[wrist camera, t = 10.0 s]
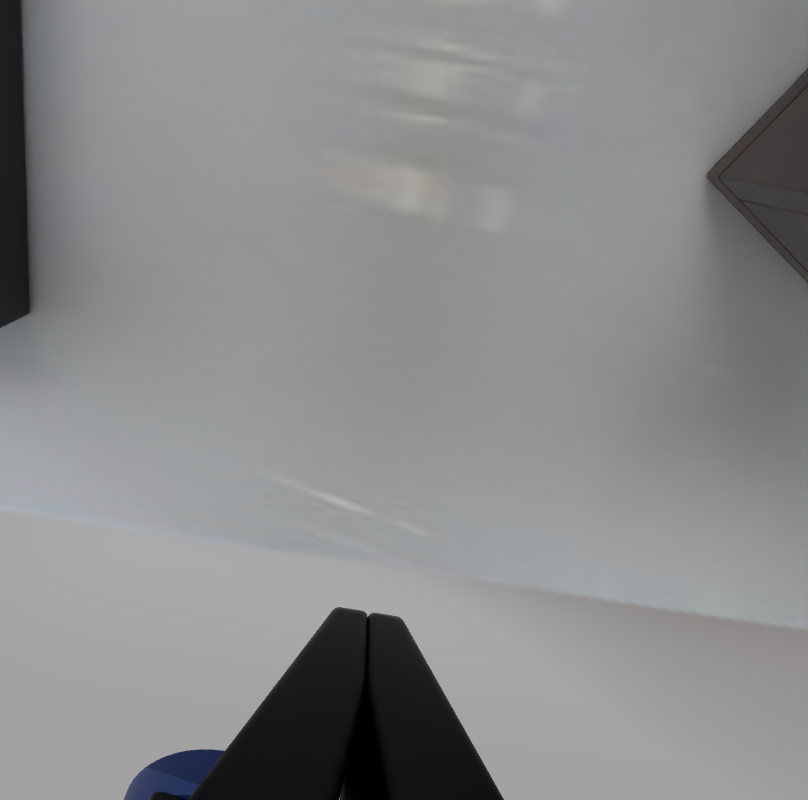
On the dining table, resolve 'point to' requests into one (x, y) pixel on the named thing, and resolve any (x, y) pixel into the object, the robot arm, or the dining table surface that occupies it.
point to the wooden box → (773, 175)
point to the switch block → (12, 170)
